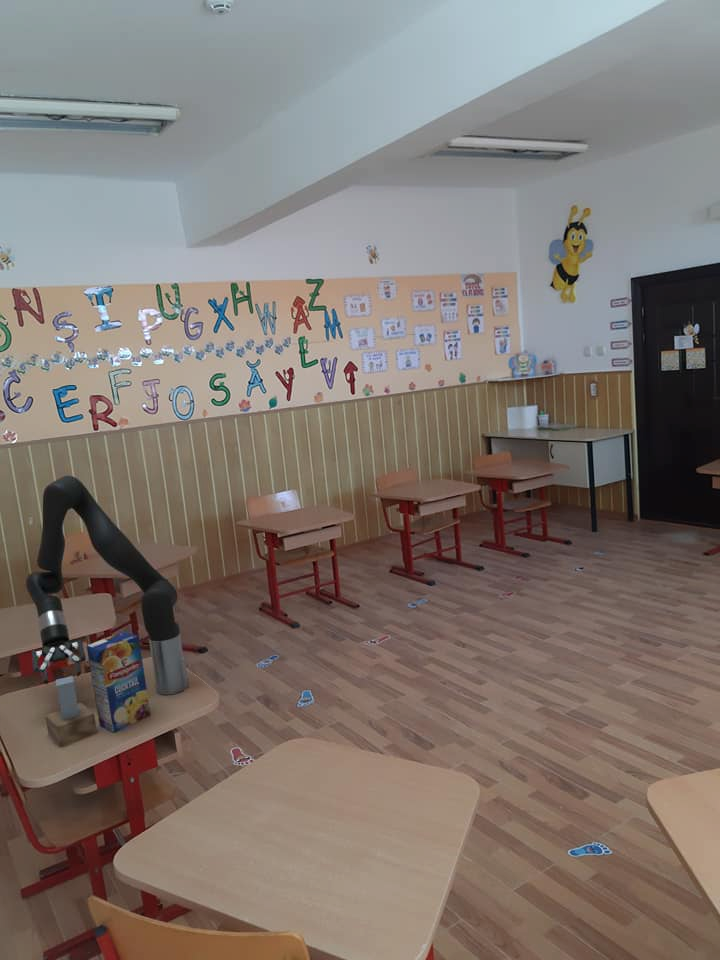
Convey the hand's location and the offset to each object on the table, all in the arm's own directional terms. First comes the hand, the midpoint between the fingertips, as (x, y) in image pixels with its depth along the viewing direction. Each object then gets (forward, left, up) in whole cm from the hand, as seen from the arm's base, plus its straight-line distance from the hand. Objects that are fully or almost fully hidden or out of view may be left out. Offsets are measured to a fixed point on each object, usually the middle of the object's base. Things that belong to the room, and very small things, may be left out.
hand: (62, 679), depth 214 cm
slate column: (0, +11, -6) cm, 13 cm away
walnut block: (0, +10, -12) cm, 16 cm away
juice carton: (-14, +12, -12) cm, 22 cm away
